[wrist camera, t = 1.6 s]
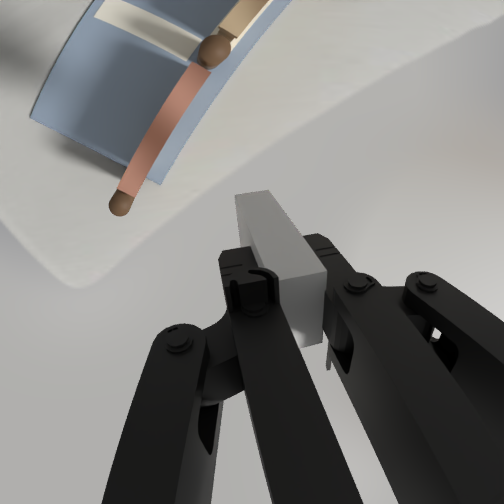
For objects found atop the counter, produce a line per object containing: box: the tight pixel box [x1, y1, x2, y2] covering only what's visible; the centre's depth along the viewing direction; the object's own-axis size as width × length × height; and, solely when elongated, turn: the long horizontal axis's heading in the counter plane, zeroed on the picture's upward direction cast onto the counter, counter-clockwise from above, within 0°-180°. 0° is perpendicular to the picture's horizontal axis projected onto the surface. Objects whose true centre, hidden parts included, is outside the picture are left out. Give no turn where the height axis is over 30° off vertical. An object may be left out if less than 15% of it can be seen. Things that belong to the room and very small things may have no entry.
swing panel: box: [109, 62, 212, 216], centre depth 22 cm, size 12×2×7 cm, turn 145°
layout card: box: [30, 0, 292, 185], centre depth 21 cm, size 24×15×1 cm, turn 145°
